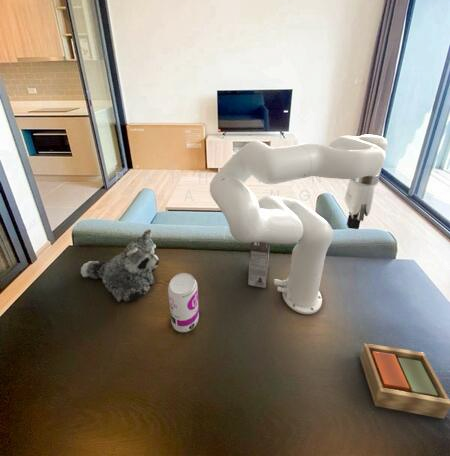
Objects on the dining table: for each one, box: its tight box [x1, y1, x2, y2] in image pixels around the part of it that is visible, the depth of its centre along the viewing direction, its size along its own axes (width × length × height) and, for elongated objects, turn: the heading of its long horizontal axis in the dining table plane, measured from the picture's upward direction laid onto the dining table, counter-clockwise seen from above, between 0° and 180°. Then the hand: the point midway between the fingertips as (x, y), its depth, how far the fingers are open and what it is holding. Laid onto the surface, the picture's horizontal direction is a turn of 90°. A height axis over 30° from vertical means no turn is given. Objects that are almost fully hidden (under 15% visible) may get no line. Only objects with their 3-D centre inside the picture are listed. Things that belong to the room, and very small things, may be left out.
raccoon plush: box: [80, 228, 160, 303], centre depth 82 cm, size 15×32×21 cm, turn 89°
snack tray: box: [359, 342, 450, 420], centre depth 58 cm, size 14×10×6 cm
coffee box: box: [247, 242, 271, 289], centre depth 86 cm, size 9×6×16 cm
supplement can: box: [167, 272, 200, 333], centre depth 71 cm, size 8×8×15 cm
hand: (352, 227), depth 79 cm, fingers closed
